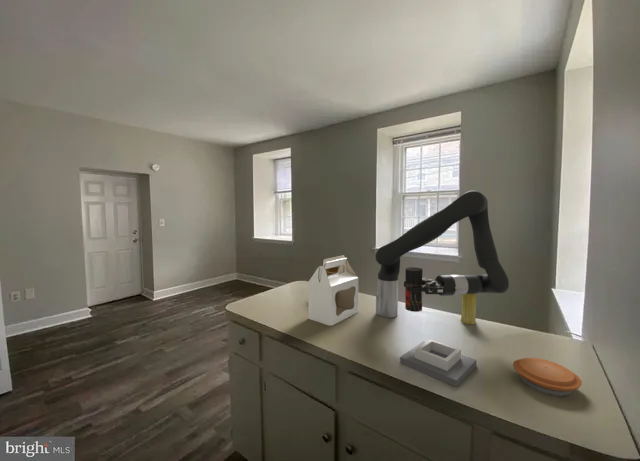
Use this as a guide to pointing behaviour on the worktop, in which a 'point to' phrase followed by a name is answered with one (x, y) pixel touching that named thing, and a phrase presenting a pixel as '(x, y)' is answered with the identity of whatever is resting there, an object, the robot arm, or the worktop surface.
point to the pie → (547, 376)
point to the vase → (468, 309)
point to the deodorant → (413, 298)
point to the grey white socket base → (439, 361)
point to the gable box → (333, 292)
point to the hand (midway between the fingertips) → (407, 286)
